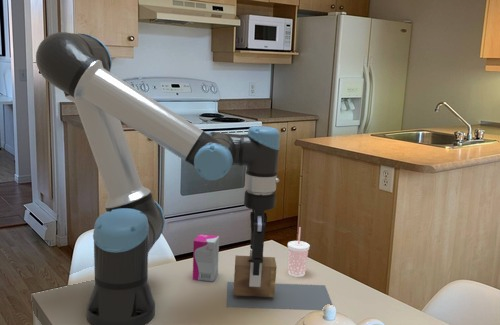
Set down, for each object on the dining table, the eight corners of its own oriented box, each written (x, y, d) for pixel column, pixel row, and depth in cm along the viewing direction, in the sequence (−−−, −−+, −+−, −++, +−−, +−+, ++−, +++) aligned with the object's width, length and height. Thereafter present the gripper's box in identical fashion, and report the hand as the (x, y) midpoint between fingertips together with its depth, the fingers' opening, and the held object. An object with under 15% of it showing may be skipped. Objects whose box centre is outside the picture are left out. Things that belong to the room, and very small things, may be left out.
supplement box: (218, 275, 143) (219, 235, 140) (213, 284, 137) (214, 242, 135) (198, 272, 144) (199, 233, 141) (191, 281, 138) (193, 240, 136)
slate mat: (226, 309, 124) (226, 307, 124) (227, 283, 138) (227, 281, 138) (334, 312, 125) (334, 310, 125) (324, 287, 139) (325, 285, 138)
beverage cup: (290, 268, 149) (293, 222, 147) (310, 273, 147) (314, 226, 144) (282, 276, 144) (285, 228, 141) (303, 281, 141) (306, 232, 139)
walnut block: (233, 295, 128) (235, 264, 126) (233, 284, 134) (235, 255, 132) (274, 297, 128) (276, 266, 126) (272, 286, 134) (274, 257, 132)
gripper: (278, 202, 116) (271, 298, 121) (273, 182, 135) (267, 265, 140) (245, 201, 116) (239, 296, 121) (244, 180, 135) (239, 264, 139)
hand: (254, 280), depth 130 cm, fingers closed on walnut block, 6 cm apart
